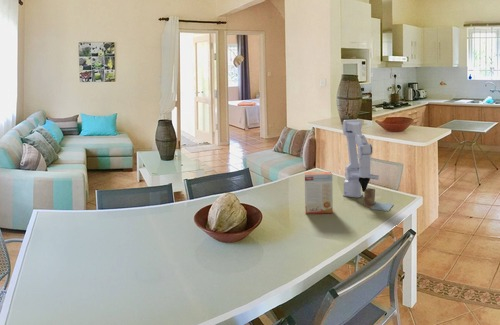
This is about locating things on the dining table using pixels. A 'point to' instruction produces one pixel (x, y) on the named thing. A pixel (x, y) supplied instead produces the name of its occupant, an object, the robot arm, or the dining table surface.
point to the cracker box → (318, 192)
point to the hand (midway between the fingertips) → (364, 191)
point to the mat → (382, 206)
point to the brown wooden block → (369, 197)
